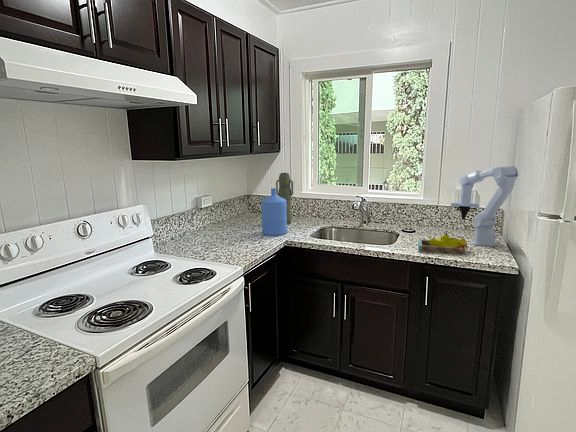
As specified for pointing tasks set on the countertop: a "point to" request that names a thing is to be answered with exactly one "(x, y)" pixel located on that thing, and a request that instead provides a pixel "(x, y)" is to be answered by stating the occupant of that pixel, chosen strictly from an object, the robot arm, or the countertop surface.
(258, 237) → the countertop surface
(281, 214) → the water jug
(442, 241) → the yellow piece
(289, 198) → the thermos
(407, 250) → the countertop surface
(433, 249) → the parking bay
